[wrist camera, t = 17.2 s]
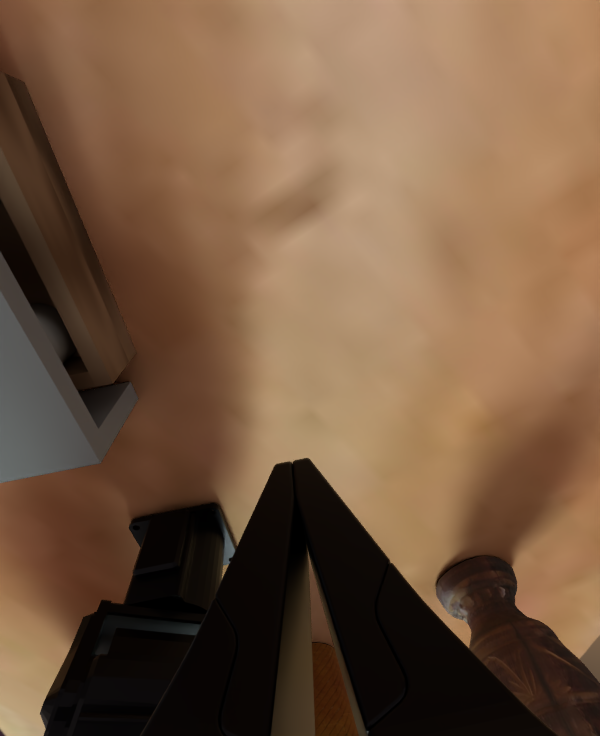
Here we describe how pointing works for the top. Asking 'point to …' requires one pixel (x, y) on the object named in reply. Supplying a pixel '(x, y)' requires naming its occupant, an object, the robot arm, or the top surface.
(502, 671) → the mortar and pestle
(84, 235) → the walnut tray
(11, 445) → the grey shelf
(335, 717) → the disposable coffee cup
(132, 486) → the top surface
